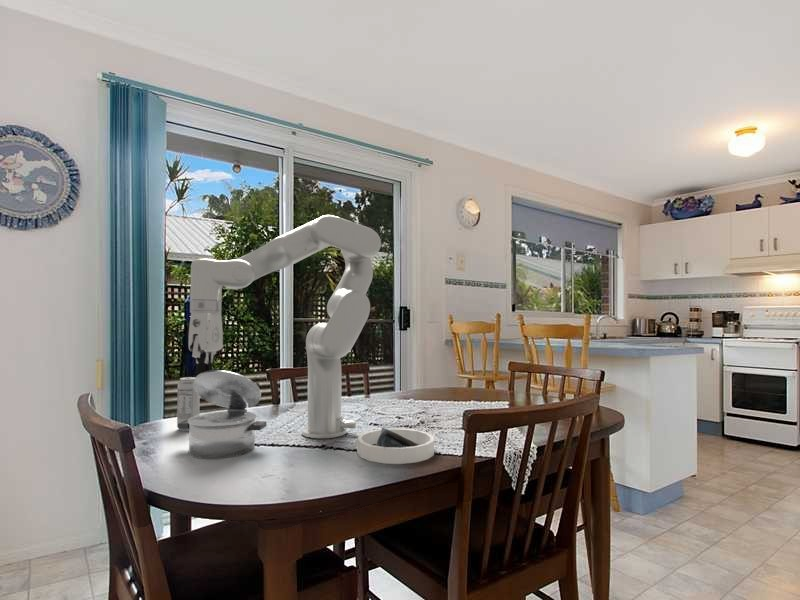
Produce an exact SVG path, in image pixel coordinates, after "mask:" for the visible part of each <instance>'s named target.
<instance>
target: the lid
mask: <svg viewBox="0 0 800 600" xmlns="http://www.w3.org/2000/svg"><path fill="white" fill-rule="evenodd" d="M195 377H196V378H195V380H194V383H193V387H194V390H195V392H196V393H197V394H198V395H199V396H200V398H201V399H203V400H204V401H206V402H208V403H210V404H213V405H216V406H218V407H222V408H226V409H227V410H226V411H244V412H248V408H251V407H255V406H256V405H257V404H258V403H259V402H260V400H261V398H262V397H261V396H262V391H261V389H260V387H259V385H258V384H257V383H256V382H255V381H253V380H252V379H250V377H249V378H248V377H247V376H245V375H242V374H241V373H236V372H233V371H228V370H222V369H212V370H210V371H205V372H202V373H200V374H199V375H197V374H196V376H195Z"/></svg>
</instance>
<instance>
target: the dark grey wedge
mask: <svg viewBox="0 0 800 600" xmlns="http://www.w3.org/2000/svg"><path fill="white" fill-rule="evenodd" d="M381 429H382V431H381V435H380V436H379V438H378V441H377V444H376V445H375V446H381V447H398V448H401V447H412V446H417V445H419V444H416V443H414V442H413V441H410V440H408V439H406V438H404V437H402V436H400V435H398V434H396V433H394V432H392V431H390V430H388V429H389V428H386V427H382V428H381Z"/></svg>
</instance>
